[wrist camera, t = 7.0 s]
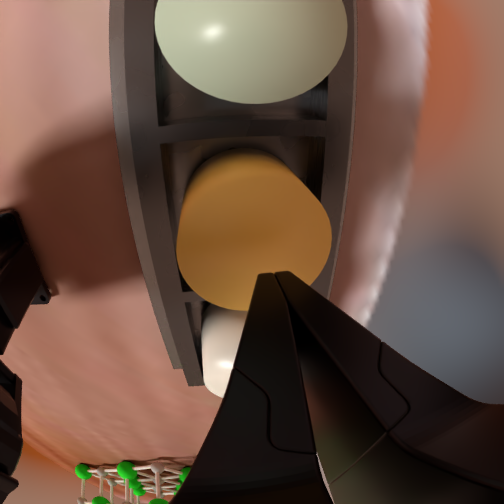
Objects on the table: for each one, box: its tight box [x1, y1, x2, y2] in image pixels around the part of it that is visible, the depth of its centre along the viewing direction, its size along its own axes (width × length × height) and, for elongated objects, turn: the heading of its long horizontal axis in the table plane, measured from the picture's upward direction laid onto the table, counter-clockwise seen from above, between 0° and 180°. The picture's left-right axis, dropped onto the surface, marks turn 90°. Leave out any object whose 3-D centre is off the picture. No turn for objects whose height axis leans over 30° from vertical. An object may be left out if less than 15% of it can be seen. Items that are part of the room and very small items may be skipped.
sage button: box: [155, 0, 347, 104], centre depth 7 cm, size 5×5×4 cm
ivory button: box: [201, 303, 248, 398], centre depth 14 cm, size 5×5×4 cm
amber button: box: [176, 148, 332, 311], centre depth 11 cm, size 5×5×4 cm
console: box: [109, 0, 357, 386], centre depth 12 cm, size 10×23×3 cm, turn 1°
